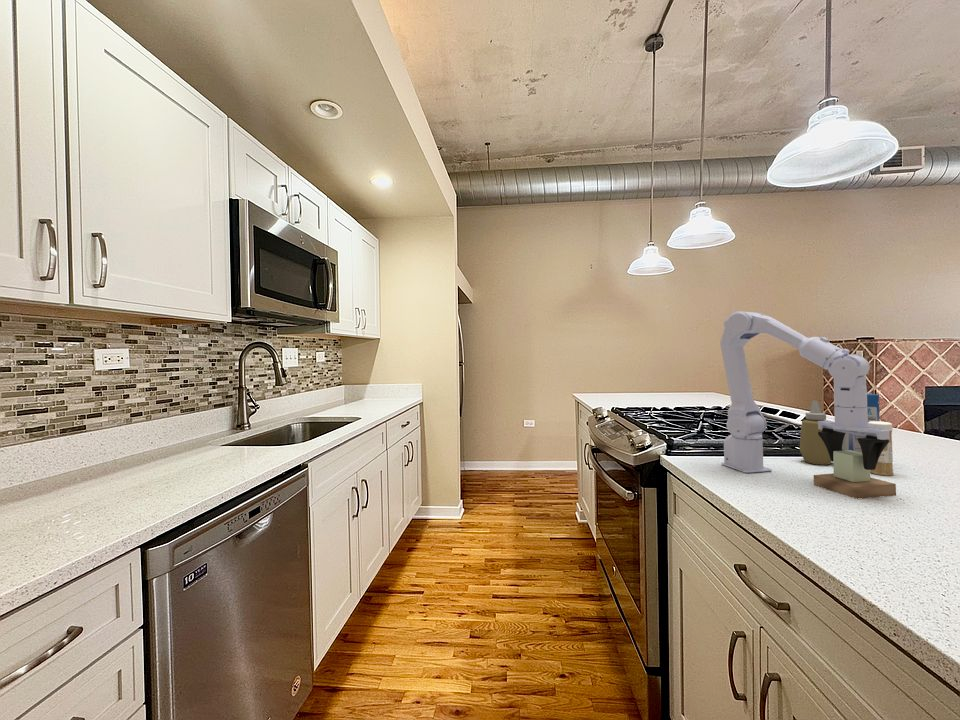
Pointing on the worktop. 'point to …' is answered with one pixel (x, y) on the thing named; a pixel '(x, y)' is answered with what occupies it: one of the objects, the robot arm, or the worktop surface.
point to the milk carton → (873, 415)
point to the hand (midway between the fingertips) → (852, 464)
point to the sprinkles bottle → (884, 451)
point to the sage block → (850, 466)
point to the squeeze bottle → (813, 437)
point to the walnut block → (855, 486)
